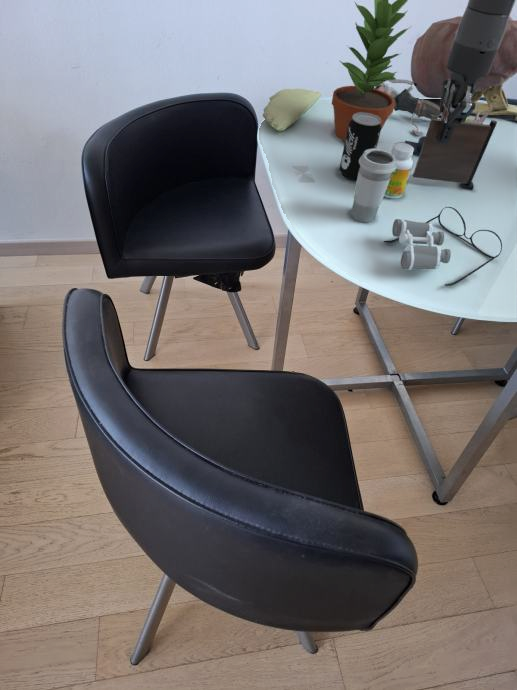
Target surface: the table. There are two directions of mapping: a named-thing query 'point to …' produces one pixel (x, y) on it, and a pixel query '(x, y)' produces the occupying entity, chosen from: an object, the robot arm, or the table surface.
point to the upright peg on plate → (479, 158)
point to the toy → (418, 104)
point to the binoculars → (418, 254)
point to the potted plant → (369, 68)
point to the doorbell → (417, 145)
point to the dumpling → (288, 106)
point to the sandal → (493, 102)
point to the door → (451, 152)
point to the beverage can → (359, 142)
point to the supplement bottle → (400, 170)
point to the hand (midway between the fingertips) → (441, 141)
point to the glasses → (464, 240)
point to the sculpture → (435, 51)
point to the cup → (372, 183)
